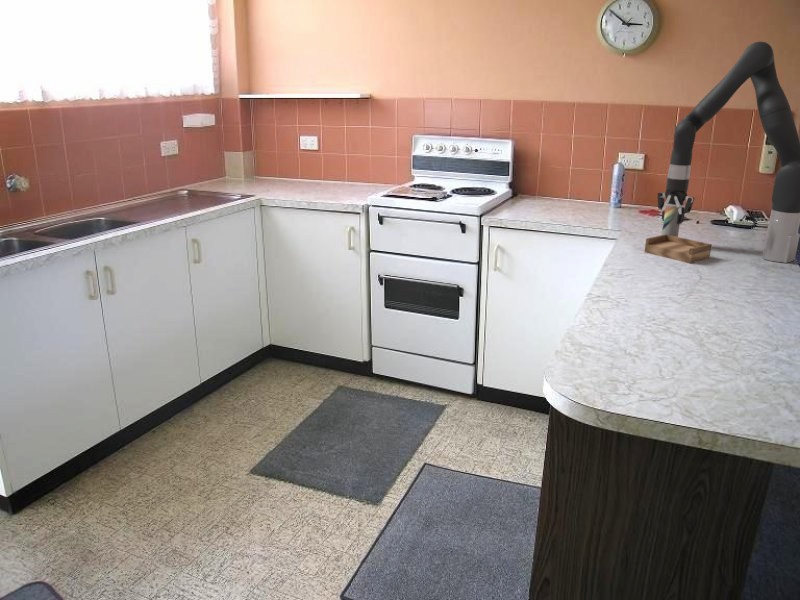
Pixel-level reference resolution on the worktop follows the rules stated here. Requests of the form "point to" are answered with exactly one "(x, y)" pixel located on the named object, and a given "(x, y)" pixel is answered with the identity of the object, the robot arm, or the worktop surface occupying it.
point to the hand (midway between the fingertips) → (671, 222)
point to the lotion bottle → (671, 217)
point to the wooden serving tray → (678, 248)
